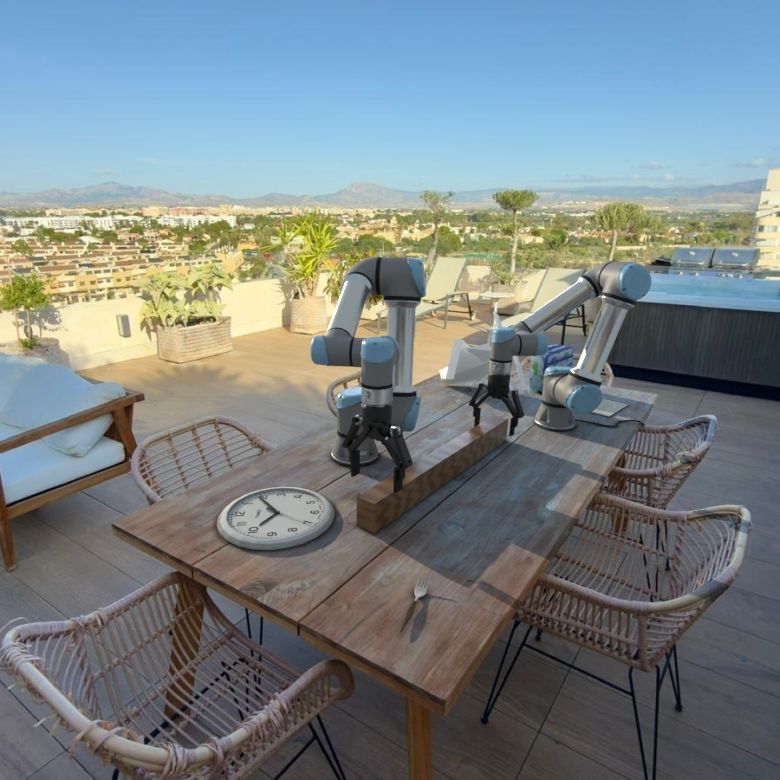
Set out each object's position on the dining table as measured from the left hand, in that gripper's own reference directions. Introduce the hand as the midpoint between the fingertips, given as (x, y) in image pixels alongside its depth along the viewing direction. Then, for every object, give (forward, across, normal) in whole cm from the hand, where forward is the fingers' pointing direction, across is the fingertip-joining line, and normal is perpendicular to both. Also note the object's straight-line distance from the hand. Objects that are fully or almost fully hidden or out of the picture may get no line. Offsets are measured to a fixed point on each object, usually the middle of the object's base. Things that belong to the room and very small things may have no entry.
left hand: (376, 482), depth 131 cm
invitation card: (+12, +19, +133) cm, 135 cm away
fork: (+12, +26, -20) cm, 34 cm away
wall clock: (+12, -22, -14) cm, 28 cm away
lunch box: (+12, -8, +144) cm, 145 cm away
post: (+12, 0, +34) cm, 36 cm away
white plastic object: (+12, -32, +118) cm, 123 cm away
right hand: (+7, 0, +68) cm, 68 cm away
